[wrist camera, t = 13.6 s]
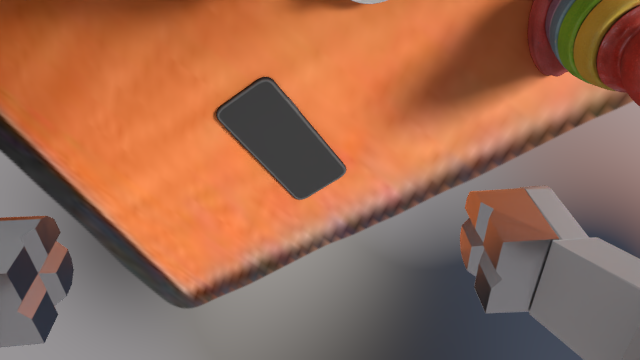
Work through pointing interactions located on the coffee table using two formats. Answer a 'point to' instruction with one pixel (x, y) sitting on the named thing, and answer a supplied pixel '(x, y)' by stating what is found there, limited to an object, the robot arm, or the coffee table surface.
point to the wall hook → (369, 1)
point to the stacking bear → (588, 41)
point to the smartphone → (281, 138)
